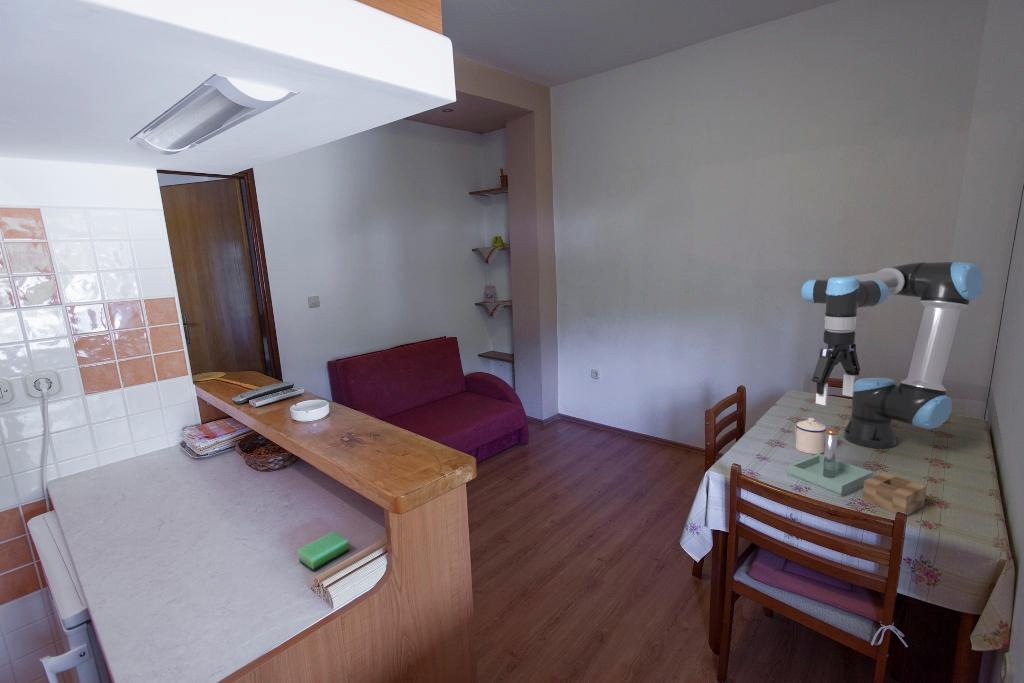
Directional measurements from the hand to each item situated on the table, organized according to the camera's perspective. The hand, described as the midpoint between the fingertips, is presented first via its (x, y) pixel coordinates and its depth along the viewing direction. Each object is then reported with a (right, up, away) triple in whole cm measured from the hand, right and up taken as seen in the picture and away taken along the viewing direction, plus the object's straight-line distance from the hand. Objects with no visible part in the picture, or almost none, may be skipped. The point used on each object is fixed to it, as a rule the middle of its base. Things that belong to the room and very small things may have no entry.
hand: (834, 399), depth 139 cm
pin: (+1, -24, +4) cm, 25 cm away
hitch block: (+9, -27, -10) cm, 31 cm away
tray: (+1, -25, +5) cm, 26 cm away
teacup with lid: (+9, -21, +27) cm, 35 cm away
